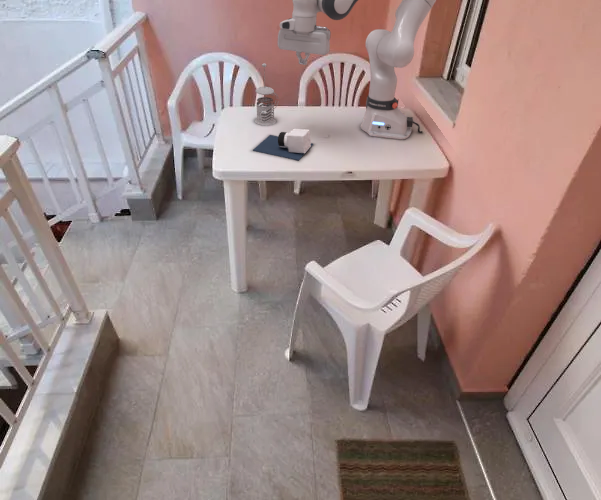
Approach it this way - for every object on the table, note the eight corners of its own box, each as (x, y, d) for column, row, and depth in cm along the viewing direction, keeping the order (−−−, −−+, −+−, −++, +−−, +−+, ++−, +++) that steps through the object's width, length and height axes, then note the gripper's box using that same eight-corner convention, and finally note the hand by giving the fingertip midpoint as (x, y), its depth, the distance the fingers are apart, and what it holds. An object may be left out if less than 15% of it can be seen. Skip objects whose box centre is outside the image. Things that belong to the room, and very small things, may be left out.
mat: (313, 144, 172) (313, 143, 172) (298, 160, 160) (298, 159, 160) (270, 135, 177) (270, 134, 177) (252, 150, 166) (252, 149, 166)
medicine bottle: (309, 129, 163) (282, 127, 167) (303, 136, 158) (275, 134, 162) (311, 146, 167) (284, 144, 171) (304, 153, 162) (277, 151, 166)
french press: (250, 119, 190) (247, 62, 174) (271, 114, 195) (270, 58, 180) (262, 127, 184) (260, 68, 168) (283, 121, 189) (283, 63, 174)
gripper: (333, 25, 150) (330, 65, 159) (282, 19, 156) (282, 58, 165) (328, 29, 146) (325, 70, 155) (275, 22, 152) (275, 62, 160)
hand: (302, 64), depth 160 cm, fingers closed
